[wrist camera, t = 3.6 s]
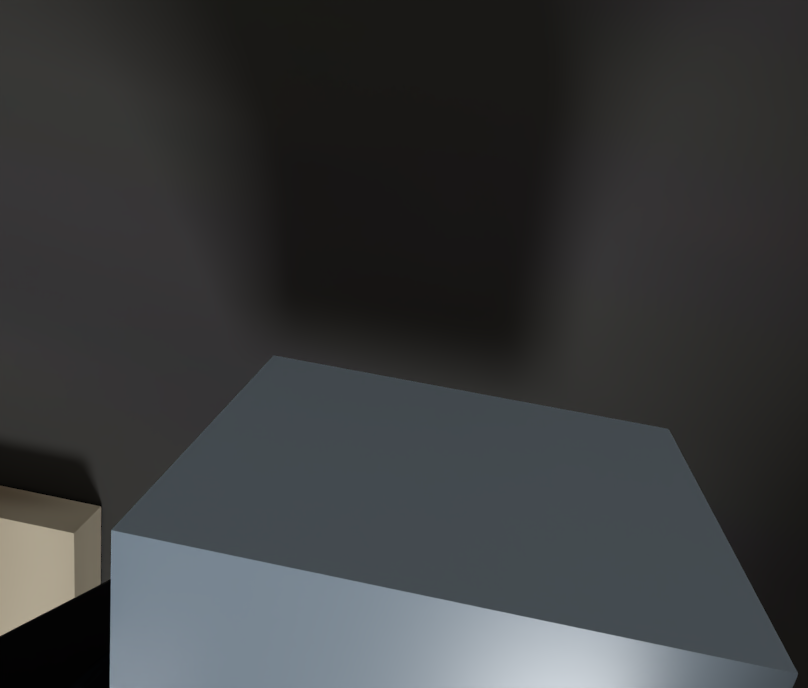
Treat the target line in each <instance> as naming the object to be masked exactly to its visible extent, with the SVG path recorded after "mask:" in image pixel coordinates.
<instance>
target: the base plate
mask: <svg viewBox="0 0 808 688" xmlns="http://www.w3.org/2000/svg"><path fill="white" fill-rule="evenodd" d="M100 584H101V506H97V505H92V504H87V503H82V502H78V501H73V500H68V499H63V498H58V497H53V496H48V495H44V494H39V493H34V492H29V491H24V490H19V489H15V488H10V487H5V486H0V636H1V635H3V634H5V633H7V632H9V631H11V630H13V629H15V628H17V627H19V626H21V625H23V624H24V623H26V622H28V621H30V620H32V619H34V618H36V617H38V616H40V615H42V614H44V613H46V612H48V611H50V610H52V609H54V608H56V607H58V606H60V605H61V604H63V603H65V602H67V601H69V600H71V599H73V598H75V597H77V596H79V595H81V594H83V593H85V592H87V591H89V590H91V589H93V588H95V587H96V586H98V585H100Z"/></svg>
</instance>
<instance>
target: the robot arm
mask: <svg viewBox="0 0 808 688" xmlns="http://www.w3.org/2000/svg"><path fill="white" fill-rule="evenodd" d="M110 605H111V579H110V580H108V581H106V582H104V583H102V584H100V585H98V586H96V587H95V588H93V589H91V590H89V591H87V592H85V593H83V594H81V595H79V596H77V597H75V598H73V599H71V600H69V601H67V602H65V603H63V604H61V605H60V606H58V607H56V608H54V609H52V610H50V611H48V612H46V613H44V614H42V615H40V616H38V617H36V618H34V619H32V620H30V621H28V622H26V623H24V624H23V625H21V626H19V627H17V628H15V629H13V630H11V631H9V632H7V633H5V634H3V635H1V636H0V688H110Z"/></svg>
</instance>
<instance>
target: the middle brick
mask: <svg viewBox="0 0 808 688" xmlns="http://www.w3.org/2000/svg"><path fill="white" fill-rule="evenodd" d="M797 676H798V672H797V670H796V669H795V667H794V665H793V663H792V661H791V659H790V657H789V655H788V653H787V652H786V650H785V648H784V646H783V644H782V642H781V640H780V638H779V636H778V635H777V633H776V631H775V629H774V627H773V625H772V623H771V621H770V619H769V618H768V616H767V614H766V612H765V610H764V608H763V606H762V604H761V602H760V601H759V599H758V597H757V595H756V593H755V591H754V589H753V587H752V585H751V584H750V582H749V580H748V578H747V576H746V574H745V572H744V570H743V568H742V567H741V565H740V563H739V561H738V559H737V557H736V555H735V553H734V551H733V550H732V548H731V546H730V544H729V542H728V540H727V538H726V536H725V534H724V533H723V531H722V529H721V527H720V525H719V523H718V521H717V519H716V517H715V516H714V514H713V512H712V510H711V508H710V506H709V504H708V502H707V501H706V499H705V497H704V495H703V493H702V491H701V489H700V487H699V485H698V484H697V482H696V480H695V478H694V476H693V474H692V472H691V470H690V468H689V467H688V465H687V463H686V461H685V459H684V457H683V455H682V453H681V451H680V450H679V448H678V446H677V444H676V442H675V440H674V438H673V436H672V434H671V433H670V431H669V429H666V428H661V427H655V426H650V425H645V424H639V423H634V422H629V421H623V420H618V419H613V418H607V417H602V416H596V415H591V414H586V413H580V412H575V411H570V410H564V409H559V408H553V407H548V406H543V405H537V404H532V403H527V402H521V401H516V400H510V399H505V398H500V397H494V396H489V395H484V394H478V393H473V392H468V391H462V390H457V389H451V388H446V387H441V386H435V385H430V384H425V383H419V382H414V381H408V380H403V379H398V378H392V377H387V376H382V375H376V374H371V373H366V372H360V371H355V370H349V369H344V368H339V367H333V366H328V365H323V364H317V363H312V362H306V361H301V360H296V359H290V358H285V357H280V356H273V357H272V358H271V359H270V360H269V361H268V362H267V363H266V364H265V365H264V367H263V368H262V369H261V370H260V371H259V372H258V373H257V374H256V375H255V376H254V377H253V378H252V379H251V380H250V382H249V383H248V384H247V385H246V386H245V387H244V388H243V389H242V390H241V391H240V392H239V393H238V394H237V396H236V397H235V398H234V399H233V400H232V401H231V402H230V403H229V404H228V405H227V406H226V407H225V408H224V410H223V411H222V412H221V413H220V414H219V415H218V416H217V417H216V418H215V419H214V420H213V421H212V422H211V424H210V425H209V426H208V427H207V428H206V429H205V430H204V431H203V432H202V433H201V434H200V435H199V436H198V438H197V439H196V440H195V441H194V442H193V443H192V444H191V445H190V446H189V447H188V448H187V449H186V450H185V451H184V453H183V454H182V455H181V456H180V457H179V458H178V459H177V460H176V461H175V462H174V463H173V464H172V465H171V467H170V468H169V469H168V470H167V471H166V472H165V473H164V474H163V475H162V476H161V477H160V478H159V479H158V481H157V482H156V483H155V484H154V485H153V486H152V487H151V488H150V489H149V490H148V491H147V492H146V493H145V495H144V496H143V497H142V498H141V499H140V500H139V501H138V502H137V503H136V504H135V505H134V506H133V507H132V508H131V510H130V511H129V512H128V513H127V514H126V515H125V516H124V517H123V518H122V519H121V520H120V521H119V522H118V524H117V525H116V526H115V527H114V528H113V529H112V530H111V605H110V688H793V685H794V683H795V681H796V678H797Z"/></svg>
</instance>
